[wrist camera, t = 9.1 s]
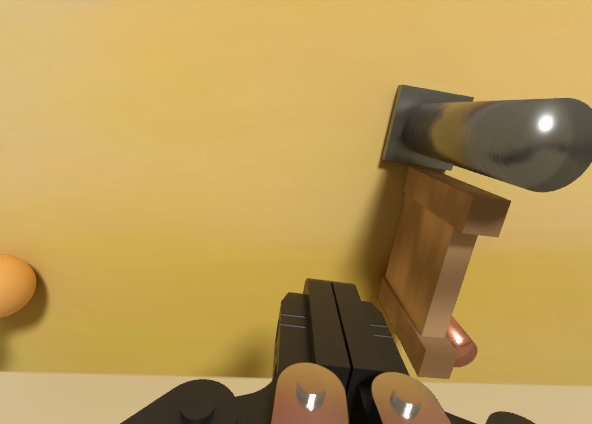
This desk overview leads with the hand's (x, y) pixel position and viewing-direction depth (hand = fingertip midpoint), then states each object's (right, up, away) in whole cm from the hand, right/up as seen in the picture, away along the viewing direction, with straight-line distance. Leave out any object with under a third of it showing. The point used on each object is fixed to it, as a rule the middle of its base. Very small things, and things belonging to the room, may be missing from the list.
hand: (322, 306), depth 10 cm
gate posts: (+7, +3, +11) cm, 14 cm away
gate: (+6, +1, +11) cm, 13 cm away
